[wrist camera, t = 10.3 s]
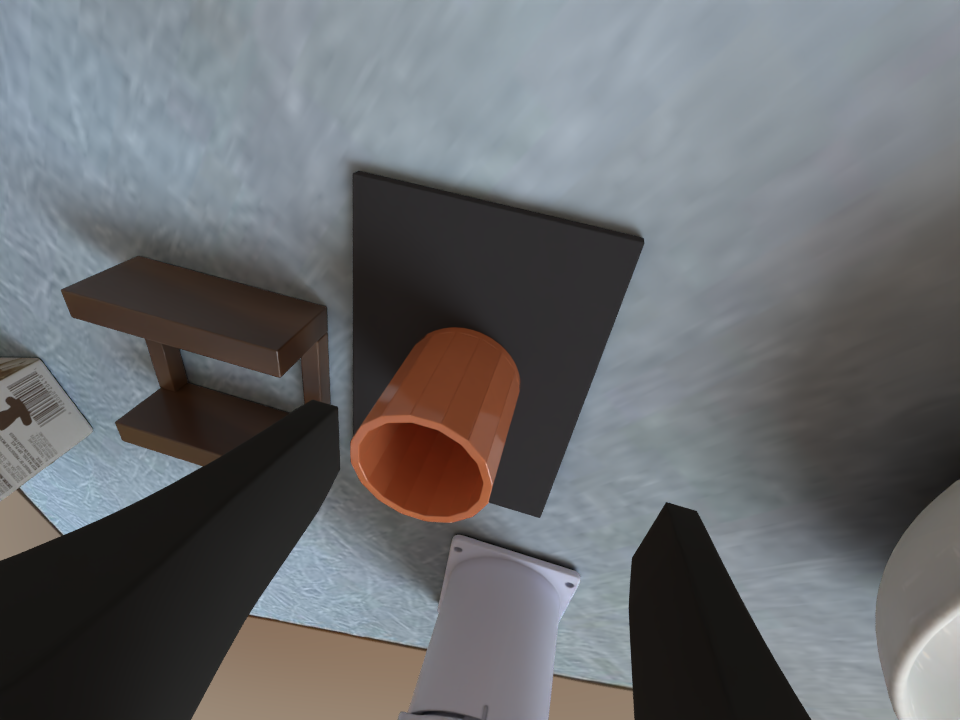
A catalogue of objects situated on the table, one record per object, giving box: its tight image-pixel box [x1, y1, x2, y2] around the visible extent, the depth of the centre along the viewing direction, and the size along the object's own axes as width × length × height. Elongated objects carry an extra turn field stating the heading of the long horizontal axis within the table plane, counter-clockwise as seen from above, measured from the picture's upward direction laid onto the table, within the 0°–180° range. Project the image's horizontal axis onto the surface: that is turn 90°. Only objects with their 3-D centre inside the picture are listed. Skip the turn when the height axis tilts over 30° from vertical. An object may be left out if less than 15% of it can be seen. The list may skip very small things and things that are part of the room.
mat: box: [353, 171, 644, 518], centre depth 22 cm, size 16×11×1 cm
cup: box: [350, 327, 520, 523], centre depth 19 cm, size 5×5×6 cm
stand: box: [61, 256, 331, 466], centre depth 23 cm, size 9×10×4 cm
